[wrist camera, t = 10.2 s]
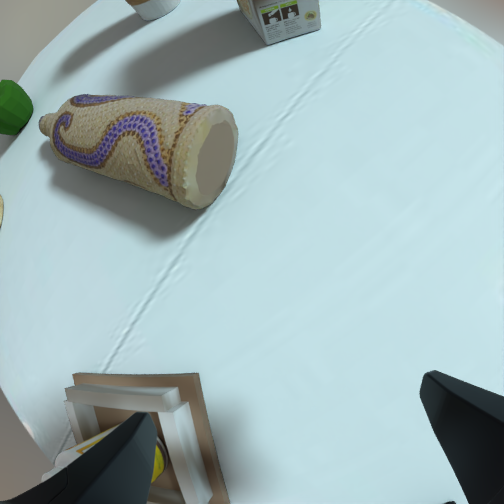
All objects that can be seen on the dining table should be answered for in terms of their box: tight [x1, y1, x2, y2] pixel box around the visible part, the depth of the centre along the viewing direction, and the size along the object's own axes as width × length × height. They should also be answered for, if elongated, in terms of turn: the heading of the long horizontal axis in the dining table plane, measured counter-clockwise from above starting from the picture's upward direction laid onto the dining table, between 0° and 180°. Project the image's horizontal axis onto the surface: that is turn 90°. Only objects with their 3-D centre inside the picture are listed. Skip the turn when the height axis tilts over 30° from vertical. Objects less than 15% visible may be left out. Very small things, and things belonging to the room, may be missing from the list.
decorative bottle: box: [39, 94, 238, 210], centre depth 22 cm, size 26×8×7 cm, turn 66°
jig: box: [64, 373, 230, 504], centre depth 19 cm, size 13×13×4 cm
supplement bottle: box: [42, 422, 168, 483], centre depth 14 cm, size 6×6×10 cm
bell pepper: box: [0, 80, 33, 135], centre depth 28 cm, size 8×8×10 cm
